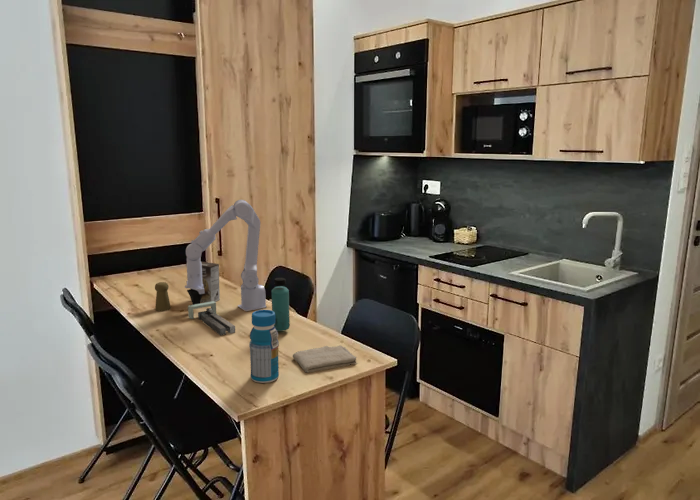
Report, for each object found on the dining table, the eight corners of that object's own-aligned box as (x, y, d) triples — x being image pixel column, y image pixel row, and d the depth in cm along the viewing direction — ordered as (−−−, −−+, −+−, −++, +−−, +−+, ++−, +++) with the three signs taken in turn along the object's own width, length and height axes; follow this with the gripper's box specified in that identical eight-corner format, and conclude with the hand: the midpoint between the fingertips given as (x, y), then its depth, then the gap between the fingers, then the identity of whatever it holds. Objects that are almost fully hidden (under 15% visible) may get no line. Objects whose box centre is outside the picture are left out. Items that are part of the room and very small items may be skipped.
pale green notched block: (214, 312, 212) (213, 301, 211) (216, 314, 210) (216, 302, 209) (188, 317, 206) (187, 305, 205) (190, 319, 204) (190, 307, 203)
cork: (165, 311, 212) (164, 285, 210) (152, 310, 213) (150, 284, 211) (173, 307, 218) (172, 281, 215) (160, 306, 219) (158, 280, 217)
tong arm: (210, 316, 208) (210, 307, 207) (235, 332, 191) (235, 323, 191) (205, 317, 207) (205, 308, 206) (230, 333, 190) (229, 324, 189)
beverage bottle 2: (293, 329, 195) (292, 277, 190) (285, 336, 189) (284, 281, 184) (276, 327, 197) (276, 275, 192) (268, 333, 191) (267, 279, 186)
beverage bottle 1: (254, 386, 151) (252, 319, 147) (247, 374, 158) (245, 310, 154) (283, 381, 154) (282, 315, 150) (274, 369, 162) (273, 306, 158)
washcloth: (359, 365, 167) (359, 355, 166) (305, 375, 159) (305, 365, 159) (343, 351, 177) (343, 342, 177) (292, 360, 170) (292, 351, 169)
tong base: (210, 316, 208) (210, 310, 207) (233, 332, 191) (233, 326, 190) (198, 318, 205) (197, 312, 204) (220, 335, 188) (220, 329, 187)
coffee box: (193, 301, 226) (191, 264, 223) (203, 297, 232) (201, 261, 228) (211, 303, 223) (209, 266, 219) (220, 299, 229) (219, 263, 225)
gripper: (178, 271, 213) (180, 303, 216) (191, 279, 202) (193, 313, 205) (195, 269, 217) (197, 300, 220) (209, 276, 206) (210, 310, 209)
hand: (196, 306), depth 213 cm, fingers closed
